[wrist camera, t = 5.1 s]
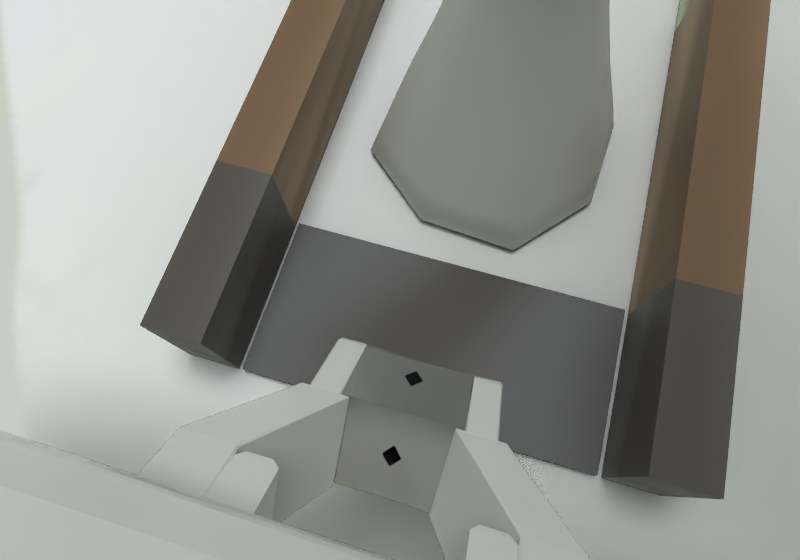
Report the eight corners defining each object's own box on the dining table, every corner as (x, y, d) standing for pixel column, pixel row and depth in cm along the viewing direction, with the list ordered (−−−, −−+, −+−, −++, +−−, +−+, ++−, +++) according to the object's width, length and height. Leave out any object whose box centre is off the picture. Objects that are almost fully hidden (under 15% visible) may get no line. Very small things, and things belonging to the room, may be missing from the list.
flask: (468, 18, 20) (521, -412, 10) (649, 127, 18) (914, -266, 8) (330, 158, 18) (240, -207, 8) (519, 294, 16) (670, 30, 7)
